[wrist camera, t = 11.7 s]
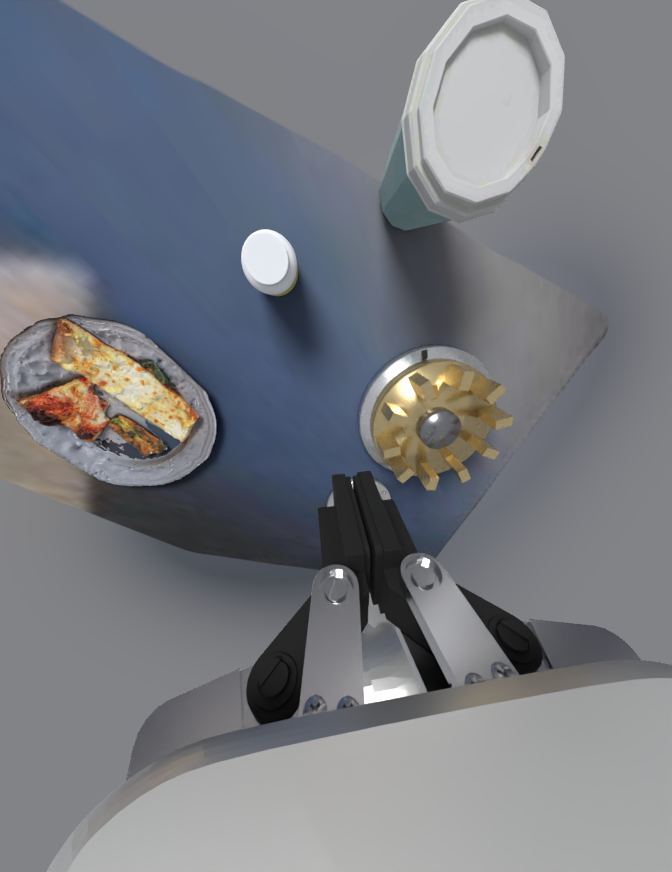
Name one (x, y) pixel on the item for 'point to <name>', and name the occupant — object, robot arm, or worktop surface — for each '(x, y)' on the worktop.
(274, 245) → the supplement bottle
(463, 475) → the bladed impeller wheel
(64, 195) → the worktop surface
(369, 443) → the light grey round disc
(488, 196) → the disposable coffee cup
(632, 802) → the robot arm
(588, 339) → the worktop surface
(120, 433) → the food plate
